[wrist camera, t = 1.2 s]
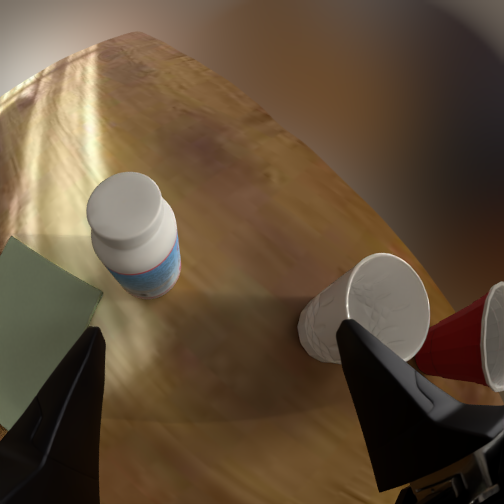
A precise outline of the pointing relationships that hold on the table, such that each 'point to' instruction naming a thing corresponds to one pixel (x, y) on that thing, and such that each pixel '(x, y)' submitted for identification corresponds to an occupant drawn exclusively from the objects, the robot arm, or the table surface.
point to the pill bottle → (135, 234)
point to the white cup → (369, 308)
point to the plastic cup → (468, 343)
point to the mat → (36, 323)
